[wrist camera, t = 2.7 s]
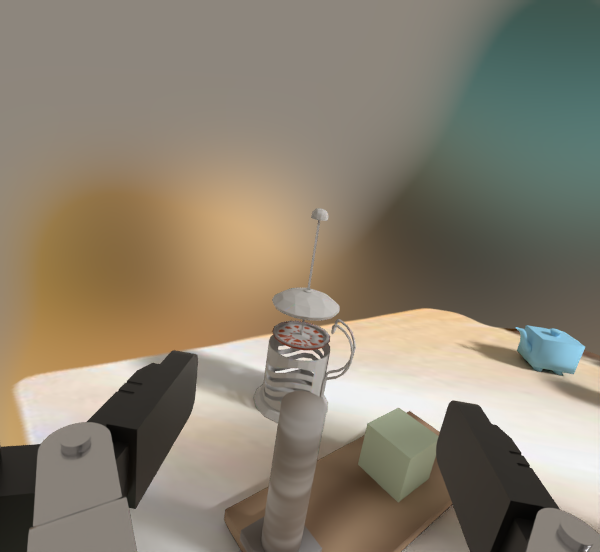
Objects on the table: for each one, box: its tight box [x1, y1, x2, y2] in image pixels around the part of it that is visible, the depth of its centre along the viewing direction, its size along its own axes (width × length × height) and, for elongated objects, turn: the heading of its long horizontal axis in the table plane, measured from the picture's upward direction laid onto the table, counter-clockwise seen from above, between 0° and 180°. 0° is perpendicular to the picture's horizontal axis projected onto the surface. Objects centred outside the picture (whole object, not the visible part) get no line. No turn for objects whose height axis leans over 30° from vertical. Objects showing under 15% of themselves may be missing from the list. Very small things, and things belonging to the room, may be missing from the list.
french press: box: [254, 209, 356, 423], centre depth 43 cm, size 10×12×25 cm
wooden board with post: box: [224, 391, 452, 552], centre depth 32 cm, size 10×26×14 cm, turn 128°
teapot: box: [516, 325, 585, 375], centre depth 66 cm, size 12×6×8 cm, turn 83°
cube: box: [358, 408, 439, 502], centre depth 35 cm, size 5×5×5 cm
